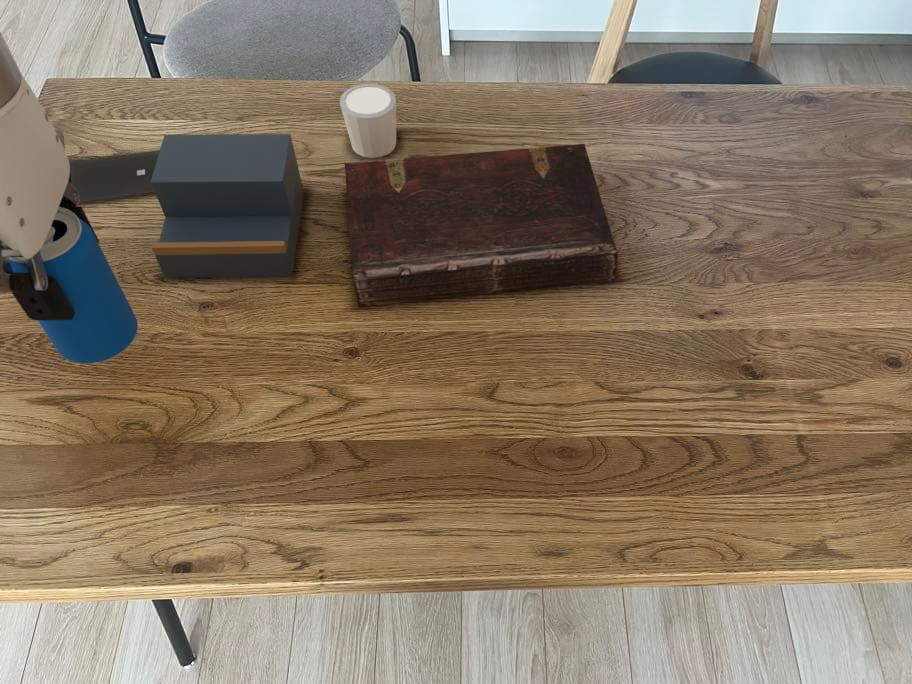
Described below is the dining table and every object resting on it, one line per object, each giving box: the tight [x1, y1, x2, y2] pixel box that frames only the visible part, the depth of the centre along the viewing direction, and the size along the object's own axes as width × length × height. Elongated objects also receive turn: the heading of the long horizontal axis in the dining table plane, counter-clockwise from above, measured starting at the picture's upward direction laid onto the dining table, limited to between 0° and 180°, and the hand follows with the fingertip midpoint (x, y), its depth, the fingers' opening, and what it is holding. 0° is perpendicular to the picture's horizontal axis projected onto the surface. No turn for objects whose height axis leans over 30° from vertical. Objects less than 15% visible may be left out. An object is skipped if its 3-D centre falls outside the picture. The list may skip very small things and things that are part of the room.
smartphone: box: [69, 150, 160, 206], centre depth 106 cm, size 8×15×1 cm, turn 105°
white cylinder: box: [339, 83, 397, 159], centre depth 109 cm, size 7×7×7 cm
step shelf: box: [151, 133, 305, 279], centre depth 98 cm, size 14×14×9 cm
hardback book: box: [344, 143, 619, 308], centre depth 101 cm, size 29×19×5 cm, turn 100°
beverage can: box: [2, 207, 139, 365], centre depth 67 cm, size 6×6×12 cm
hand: (65, 279), depth 66 cm, fingers closed on beverage can, 6 cm apart
